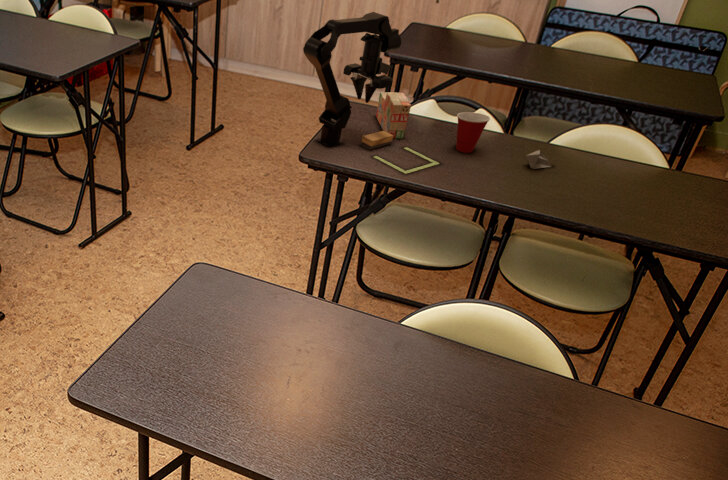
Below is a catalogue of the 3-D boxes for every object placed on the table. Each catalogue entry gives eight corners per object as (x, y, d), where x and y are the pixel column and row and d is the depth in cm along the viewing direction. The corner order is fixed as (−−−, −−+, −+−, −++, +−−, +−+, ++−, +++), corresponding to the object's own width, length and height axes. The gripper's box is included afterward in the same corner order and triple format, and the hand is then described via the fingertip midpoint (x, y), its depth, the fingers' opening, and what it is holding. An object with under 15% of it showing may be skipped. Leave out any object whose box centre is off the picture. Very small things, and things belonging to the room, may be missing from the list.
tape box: (405, 174, 225) (405, 173, 225) (373, 157, 235) (373, 156, 235) (439, 163, 231) (439, 163, 231) (406, 147, 241) (406, 147, 241)
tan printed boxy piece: (375, 116, 264) (381, 83, 256) (391, 116, 264) (398, 84, 256) (386, 138, 247) (393, 104, 239) (403, 138, 247) (411, 104, 239)
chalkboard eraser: (370, 150, 239) (372, 140, 237) (360, 145, 242) (362, 135, 240) (391, 144, 243) (393, 135, 241) (381, 140, 246) (383, 130, 244)
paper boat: (536, 155, 235) (564, 156, 229) (530, 173, 236) (558, 175, 230) (523, 143, 227) (552, 144, 220) (517, 162, 228) (546, 164, 221)
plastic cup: (474, 143, 245) (483, 109, 238) (484, 155, 237) (495, 121, 229) (444, 142, 245) (453, 109, 237) (453, 155, 237) (463, 121, 229)
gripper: (408, 58, 228) (398, 105, 238) (370, 43, 240) (362, 89, 250) (384, 63, 223) (375, 111, 234) (346, 48, 235) (338, 94, 246)
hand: (363, 100), depth 241 cm, fingers open, 4 cm apart
